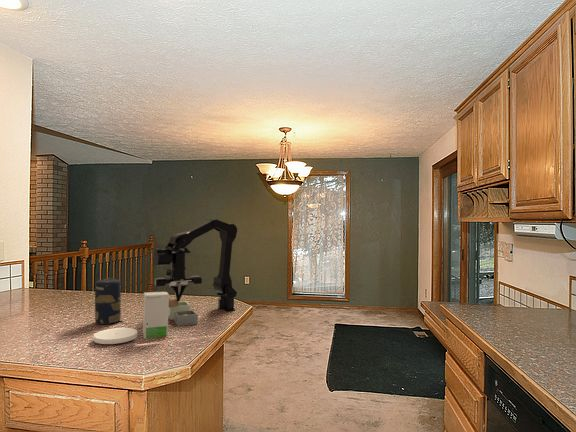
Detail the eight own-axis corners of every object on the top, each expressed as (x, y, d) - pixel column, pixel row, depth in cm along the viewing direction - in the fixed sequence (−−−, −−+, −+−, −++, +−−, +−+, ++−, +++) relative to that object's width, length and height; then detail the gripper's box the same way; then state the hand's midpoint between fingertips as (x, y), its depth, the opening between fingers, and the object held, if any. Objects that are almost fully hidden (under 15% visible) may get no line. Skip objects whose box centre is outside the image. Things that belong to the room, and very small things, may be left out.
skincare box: (143, 340, 138) (144, 295, 138) (142, 335, 144) (142, 292, 144) (169, 337, 141) (169, 293, 141) (166, 332, 147) (166, 290, 147)
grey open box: (193, 321, 164) (193, 310, 164) (197, 325, 157) (197, 314, 157) (174, 323, 161) (174, 311, 161) (177, 327, 154) (177, 316, 154)
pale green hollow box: (186, 315, 174) (186, 301, 174) (190, 319, 167) (190, 305, 167) (166, 317, 170) (166, 302, 171) (169, 321, 163) (170, 306, 163)
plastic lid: (122, 348, 131) (122, 340, 131) (84, 345, 133) (84, 338, 133) (145, 335, 145) (145, 328, 145) (109, 333, 147) (109, 326, 147)
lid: (174, 301, 173) (174, 297, 173) (178, 306, 164) (178, 301, 164) (151, 304, 169) (151, 299, 169) (154, 308, 160) (154, 303, 160)
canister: (125, 320, 164) (126, 276, 164) (108, 326, 155) (108, 280, 156) (107, 318, 168) (107, 275, 168) (89, 324, 159) (89, 278, 159)
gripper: (196, 261, 180) (196, 296, 180) (152, 263, 172) (152, 299, 172) (202, 264, 170) (202, 300, 170) (156, 266, 162) (156, 304, 162)
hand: (178, 301), depth 168 cm, fingers closed
